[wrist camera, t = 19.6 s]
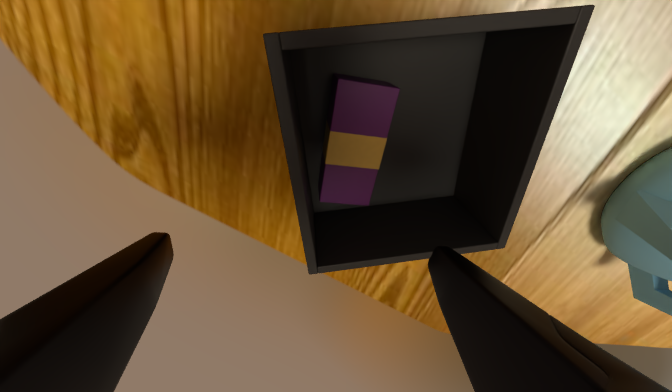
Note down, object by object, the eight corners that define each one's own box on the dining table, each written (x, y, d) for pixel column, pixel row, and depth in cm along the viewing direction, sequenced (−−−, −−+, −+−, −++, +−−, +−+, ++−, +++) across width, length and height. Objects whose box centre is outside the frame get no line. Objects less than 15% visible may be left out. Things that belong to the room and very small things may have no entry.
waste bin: (307, 215, 22) (308, 275, 17) (277, 35, 15) (262, 33, 10) (456, 197, 23) (504, 248, 17) (493, 15, 16) (596, 4, 10)
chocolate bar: (362, 188, 21) (369, 206, 18) (317, 184, 20) (319, 202, 18) (388, 81, 17) (401, 88, 14) (333, 72, 16) (337, 78, 14)
